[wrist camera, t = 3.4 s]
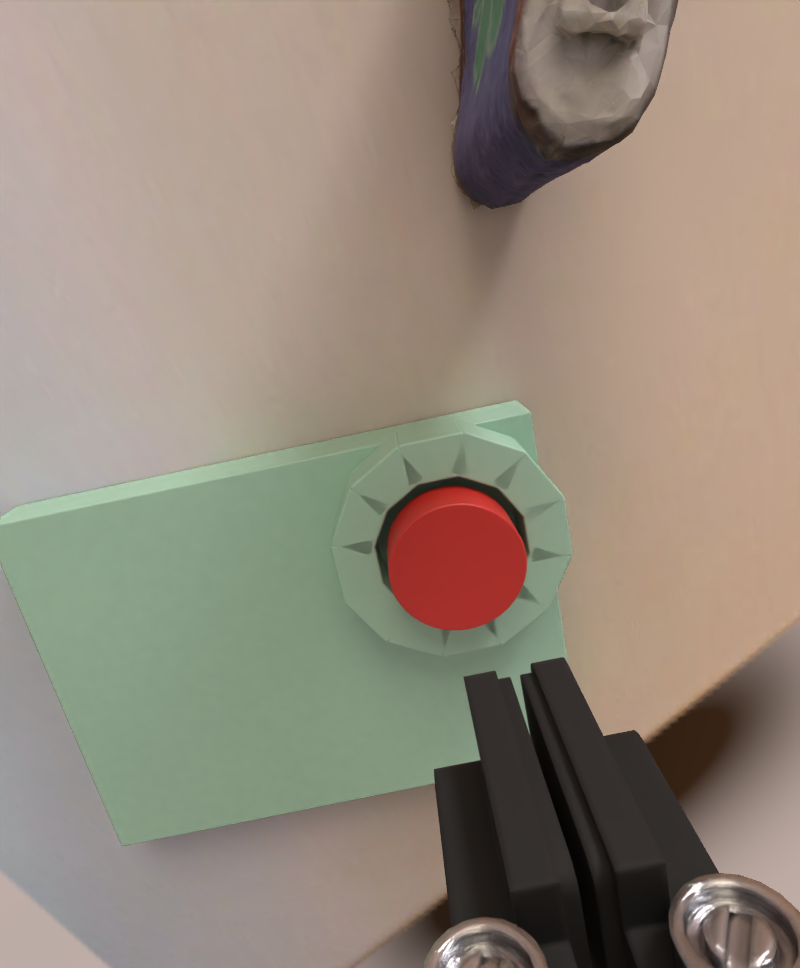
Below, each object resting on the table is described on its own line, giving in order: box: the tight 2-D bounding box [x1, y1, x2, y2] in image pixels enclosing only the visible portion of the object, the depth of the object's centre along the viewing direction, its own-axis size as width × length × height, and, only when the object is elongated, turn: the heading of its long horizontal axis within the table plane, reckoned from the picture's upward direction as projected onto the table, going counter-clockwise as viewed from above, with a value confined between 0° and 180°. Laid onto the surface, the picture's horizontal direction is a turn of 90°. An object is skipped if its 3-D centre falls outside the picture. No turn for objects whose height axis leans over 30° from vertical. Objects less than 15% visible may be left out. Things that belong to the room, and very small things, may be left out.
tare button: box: [387, 486, 527, 631], centre depth 18 cm, size 4×4×2 cm
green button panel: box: [0, 400, 572, 846], centre depth 21 cm, size 16×12×4 cm
